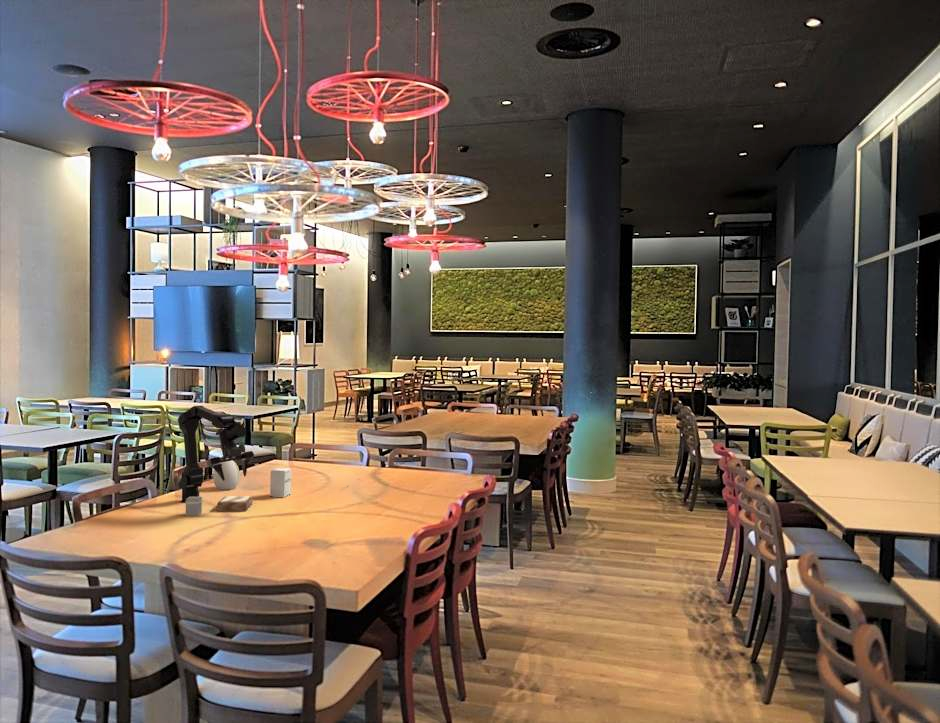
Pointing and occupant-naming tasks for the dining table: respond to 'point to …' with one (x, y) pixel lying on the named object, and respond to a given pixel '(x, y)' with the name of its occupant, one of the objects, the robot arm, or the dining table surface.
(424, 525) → the dining table surface
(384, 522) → the dining table surface
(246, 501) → the stand
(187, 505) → the grey striped cube
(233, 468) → the decorative egg
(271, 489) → the supplement box
